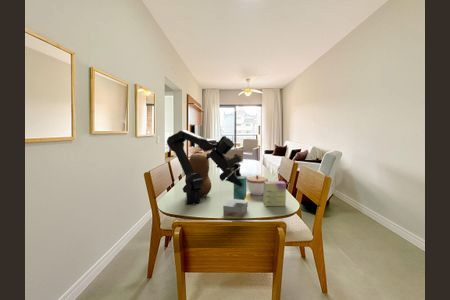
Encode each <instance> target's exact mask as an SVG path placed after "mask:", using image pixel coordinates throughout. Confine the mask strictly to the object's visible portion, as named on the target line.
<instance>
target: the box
mask: <svg viewBox="0 0 450 300" xmlns="http://www.w3.org/2000/svg"><path fill="white" fill-rule="evenodd" d="M286 194H287V183H286V182H285V181H284V180H283V181H282V180H274V181H273V180H271V181H270V180H268V181H264V193H263V204H264V206H265V207H286V206H287V205H286V203H287V202H286V200H287V199H286V197H287V195H286Z"/></svg>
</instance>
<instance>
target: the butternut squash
mask: <svg viewBox="0 0 450 300" xmlns="http://www.w3.org/2000/svg"><path fill="white" fill-rule="evenodd" d="M206 157H207V155H206V154H202V153H193V154H191V155H190V156H189V162H190V164H191V166H192V168H193V170H194V172H195V173H200V176H201V178H202V179H203V180H202V181H203V184H202V187H201V190H199V194H200V198H203V197H205V196H207V195H208V194H209V193H210V192H211V191H212V181H211V179H210V177H209V172H210V171H209V170H210V158H209V159H208V160H207V159H206Z"/></svg>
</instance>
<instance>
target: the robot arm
mask: <svg viewBox="0 0 450 300" xmlns="http://www.w3.org/2000/svg"><path fill="white" fill-rule="evenodd" d="M166 139H167V140H166V145H167V146H168V148H169V149H170V150H171V151H172V152H174V153H175V156H176V157H177V160H178V162H179V164H180V167H181V168H182V171H183V173H184V175H185V180H184V181H185V185H184V186H183V187H182V191H183V193H184V194H185V203H186V205H187V206H191V205H198V204H200V201H201V200H200V198H201V197H200V194H199V190H201V187H202V184H203V181H202V180H203V179H202V178H201V176H200V173H195V172H194V170H193V168H192V166H191V164H190V162H189V160H190V158H189V157H188V155H187V154H186V151H185V148H184V147H185V142H186V141H188V142H190V143H193V144H195V145H197V146H198V147H199V149H200V150H202V151H204V152H207V153H206V154H205V155H207V157H206V159H207V160H208V159H209V160H210V159H211V160H212V161H213V163H214V164H216V168H219V169H220V170H221V171H222V172H221V173H220V174H219V179H220V181H221V182H223V181H225V182H229V183H232V184H233V185H234V184H236V185H238V186H240V187H241V186H242V183H241V182H240V180H239V179H238V178H237V176H242V173H241V167H242V166H241V164H240V163H241V162H242V161H243V157H242V155H241V154H239V153H235V154H234V155H233V157H231V158H230V157H228V156H225V155H227V154H228V153H229V152H230V151H231V150H232V149H233V148H234V147H235V143H234V141H233V140H232V139H230V138H229V137H227V136H225V135H224V136H221V137H220V139H219V141H217V140H216V139H215V138H210V137H203V136H201V135H198V134H196V133H193V132H191V131H189V130H187V129H181V130H179V131H178V132H175V133H174V134H172V135H170V136H168V137H167V138H166ZM209 151H210V152H209Z"/></svg>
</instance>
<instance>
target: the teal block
mask: <svg viewBox="0 0 450 300" xmlns="http://www.w3.org/2000/svg"><path fill="white" fill-rule="evenodd" d="M237 178H238V179H239V180H240V182H241V183H242V186H241V187H240V186H238V185H236V184H234V183H233V200H237V201H245V200H246V198H247V178H248V177H247V176H246V175H245V176H244V175H241V176H237Z"/></svg>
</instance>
